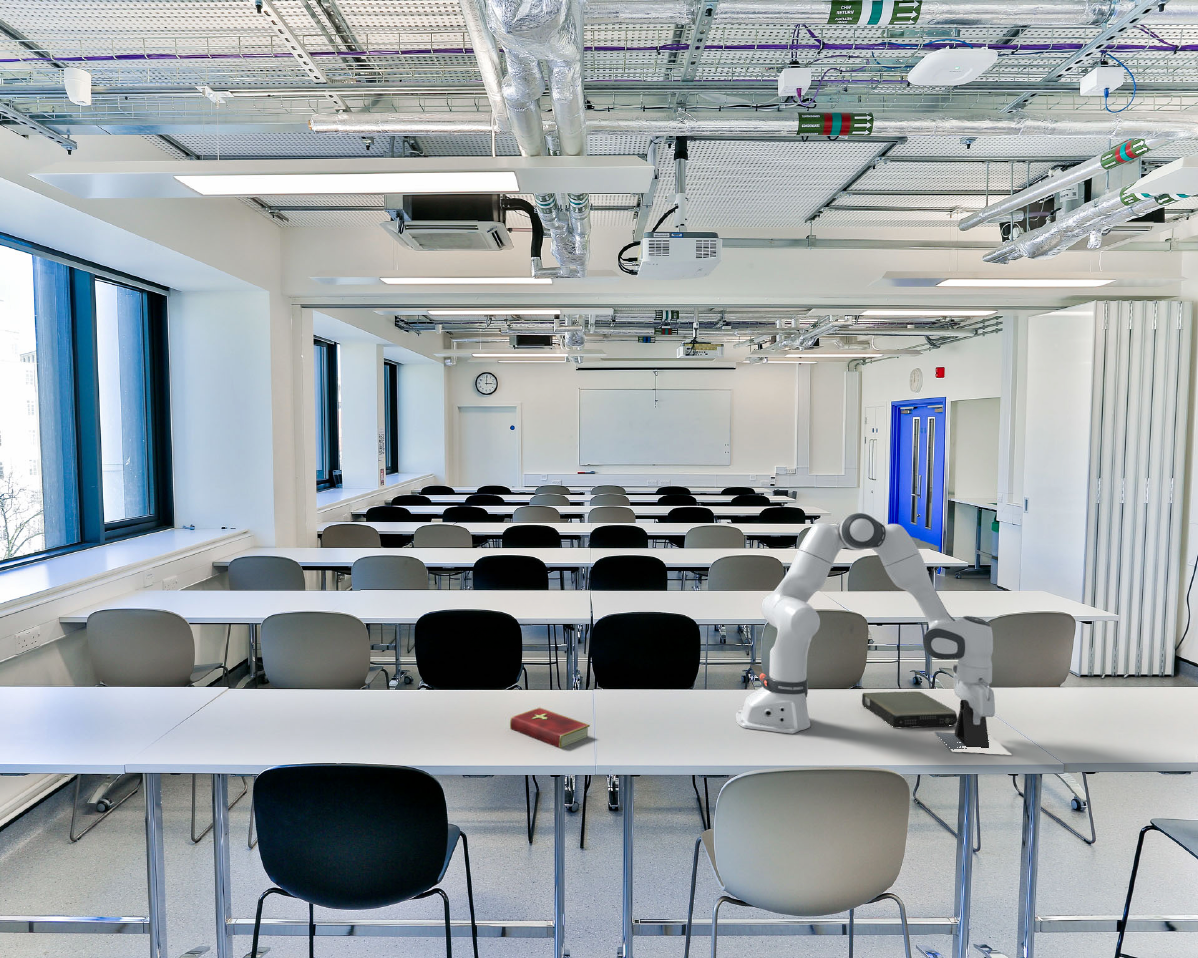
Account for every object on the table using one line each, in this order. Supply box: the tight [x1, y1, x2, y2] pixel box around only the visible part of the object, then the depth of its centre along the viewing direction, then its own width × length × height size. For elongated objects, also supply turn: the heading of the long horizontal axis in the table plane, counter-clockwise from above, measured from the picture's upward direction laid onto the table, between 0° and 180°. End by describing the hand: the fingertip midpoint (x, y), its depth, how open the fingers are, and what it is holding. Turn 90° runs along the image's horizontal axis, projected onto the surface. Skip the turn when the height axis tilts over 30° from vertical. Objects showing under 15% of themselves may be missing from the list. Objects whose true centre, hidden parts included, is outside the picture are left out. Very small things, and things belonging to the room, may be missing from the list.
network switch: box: [861, 691, 958, 728], centre depth 238 cm, size 23×23×5 cm
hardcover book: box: [509, 706, 590, 749], centre depth 218 cm, size 12×21×4 cm, turn 48°
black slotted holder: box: [953, 699, 989, 748], centre depth 215 cm, size 9×6×12 cm, turn 176°
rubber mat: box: [934, 731, 989, 750], centre depth 215 cm, size 16×14×1 cm
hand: (973, 721), depth 215 cm, fingers closed on black slotted holder, 2 cm apart
